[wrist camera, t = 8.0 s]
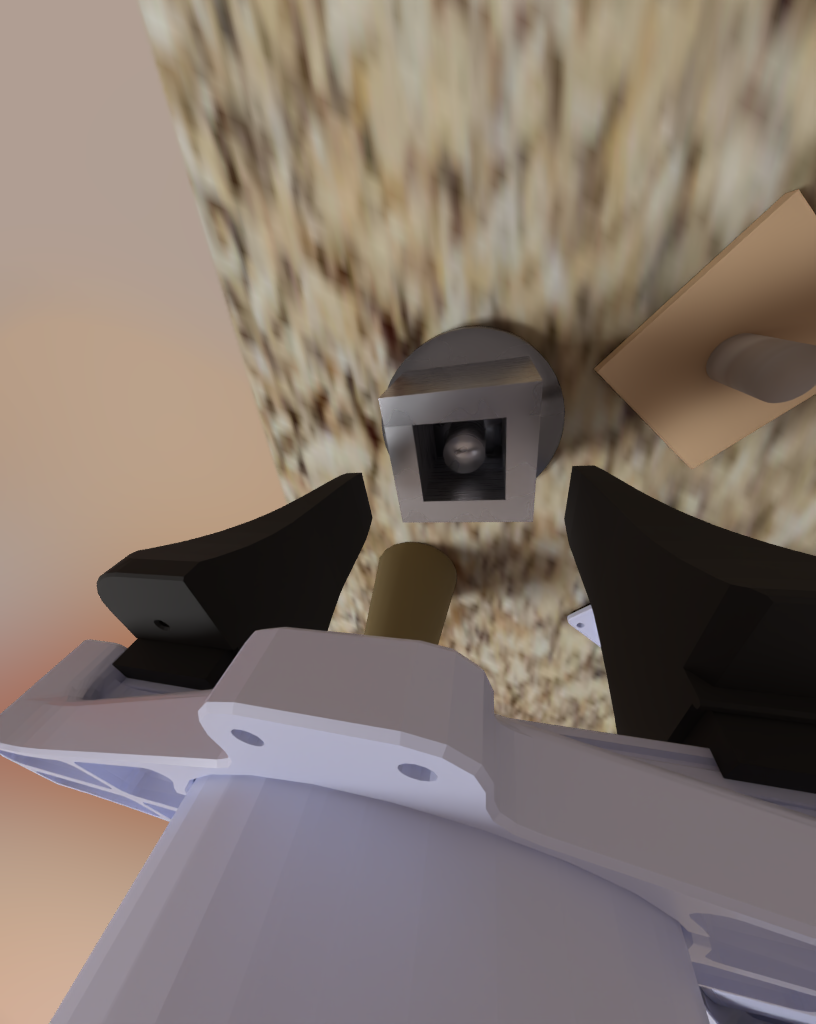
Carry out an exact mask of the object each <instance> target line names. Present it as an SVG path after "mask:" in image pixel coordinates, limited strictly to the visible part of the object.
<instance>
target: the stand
mask: <svg viewBox="0 0 816 1024" xmlns="http://www.w3.org/2000/svg"><path fill="white" fill-rule="evenodd" d="M594 370H595V371H596V372H597V373H598V374H599V375H600V376H601V377H602V378H603V379H604V380H605V381H606V382H607V383H608V384H609V385H610V386H611V387H612V389H613V390H614V391H615V392H616V393H617V394H618V395H619V396H620V397H621V398H622V399H623V400H624V401H625V402H626V403H627V404H628V405H629V406H630V407H631V408H632V409H633V410H634V411H635V412H636V413H637V414H638V415H639V416H640V417H641V418H642V419H643V420H644V421H645V422H646V423H647V424H648V425H649V427H650V428H651V429H652V430H653V431H654V432H655V433H656V434H657V435H658V436H659V437H660V438H661V439H662V440H663V441H664V442H665V443H666V444H667V445H668V446H669V447H670V448H671V449H672V450H673V451H674V452H675V453H676V454H677V455H678V456H679V457H680V458H681V459H682V460H683V461H684V462H685V463H686V464H687V465H688V466H689V467H690V468H691V469H693V468H695V467H697V466H698V465H700V464H701V463H703V462H705V461H706V460H708V459H710V458H711V457H713V456H715V455H716V454H718V453H720V452H721V451H723V450H724V449H726V448H728V447H729V446H731V445H733V444H734V443H736V442H738V441H739V440H741V439H742V438H744V437H746V436H747V435H749V434H751V433H752V432H754V431H756V430H757V429H759V428H760V427H762V426H764V425H765V424H767V423H769V422H770V421H772V420H774V419H775V418H777V417H778V416H780V415H782V414H783V413H785V412H787V411H788V410H790V409H792V408H793V407H795V406H796V405H798V404H800V403H801V402H803V401H805V400H806V399H808V398H810V397H811V396H813V395H815V394H816V215H815V213H814V212H813V210H812V209H811V207H810V206H809V204H808V203H807V201H806V200H805V198H804V196H803V195H802V193H801V192H800V190H799V189H798V190H795V191H792V192H789V193H785V194H784V195H783V196H782V197H781V198H780V199H778V200H777V201H776V202H775V203H774V204H773V205H772V206H771V207H770V208H769V209H768V210H766V211H765V212H764V213H763V214H762V215H761V216H760V217H759V218H758V219H757V220H756V221H754V222H753V223H752V224H751V225H750V226H749V227H748V228H747V229H746V230H745V231H744V232H742V233H741V234H740V235H739V236H738V237H737V238H736V239H735V240H734V241H733V242H732V243H730V244H729V245H728V246H727V247H726V248H725V249H724V250H723V251H722V252H721V253H720V254H718V255H717V256H716V257H715V258H714V259H713V260H712V261H711V262H710V263H709V264H708V265H706V266H705V267H704V268H703V269H702V270H701V271H700V272H699V273H698V274H697V275H696V276H694V277H693V278H692V279H691V280H690V281H689V282H688V283H687V284H686V285H685V286H684V287H682V288H681V289H680V290H679V291H678V292H677V293H676V294H675V295H674V296H673V297H671V298H670V299H669V300H668V301H667V302H666V303H665V304H664V305H663V306H662V307H661V308H659V309H658V310H657V311H656V312H655V313H654V314H653V315H652V316H651V317H650V318H649V319H647V320H646V321H645V322H644V323H643V324H642V325H641V326H640V327H639V328H638V329H637V330H635V331H634V332H633V333H632V334H631V335H630V336H629V337H628V338H627V339H626V340H625V341H623V342H622V343H621V344H620V345H619V346H618V347H617V348H616V349H615V350H614V351H613V352H611V353H610V354H609V355H608V356H607V357H606V358H605V359H604V360H603V361H602V362H601V363H599V364H598V365H597V366H596V367H595V368H594Z"/></svg>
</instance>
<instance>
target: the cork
mask: <svg viewBox="0 0 816 1024" xmlns="http://www.w3.org/2000/svg"><path fill="white" fill-rule="evenodd" d="M456 581H457V572H456V569H455V567H454V565H453V563H452V561H451V560H450V559H449V558H448V557H447V556H446V555H445V554H444V553H443V552H441V551H439V550H438V549H436V548H434V547H432V546H429V545H425V544H422V543H414V542H405V543H400V544H396V545H393V546H392V547H390V548H388V549H387V550H385V552H384V553H383V554H382V556H381V557H380V560H379V565H378V570H377V574H376V579H375V584H374V589H373V594H372V599H371V603H370V608H369V613H368V618H367V623H366V628H365V633H364V635H370V636H380V637H390V638H400V639H410V640H420V641H424V642H428V643H432V644H436V645H438V643H439V639H440V636H441V633H442V629H443V626H444V622H445V619H446V615H447V612H448V609H449V605H450V602H451V598H452V595H453V591H454V588H455V585H456Z"/></svg>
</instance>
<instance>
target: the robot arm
mask: <svg viewBox="0 0 816 1024" xmlns="http://www.w3.org/2000/svg"><path fill="white" fill-rule="evenodd" d="M564 519H565V525H566V531H567V536H568V541H569V545H570V548H571V551H572V554H573V556H574V559H575V562H576V565H577V568H578V570H579V573H580V576H581V578H582V581H583V584H584V587H585V589H586V592H587V595H588V598H589V601H590V604H591V605H589V606H587V607H584V608H582V609H580V610H578V611H576V612H574V613H572V614H570V615H568V617H567V619H568V623H569V624H570V625H572V626H573V627H574V628H576V629H577V630H578V631H580V632H581V633H582V634H584V635H585V636H586V637H588V638H589V639H590V640H592V641H593V642H594V643H596V644H597V645H598V646H600V647H601V649H602V654H603V659H604V664H605V668H606V673H607V678H608V684H609V689H610V694H611V700H612V705H613V710H614V716H615V722H616V729H617V734H611V733H604V732H598V731H591V730H585V729H578V728H571V727H565V726H558V725H551V724H545V723H538V722H532V721H525V720H518V719H512V718H507V717H504V716H501V715H498V714H495V713H494V691H493V689H492V687H491V685H490V682H489V680H488V678H487V676H486V674H485V672H484V670H483V669H481V668H480V667H479V666H478V665H477V664H475V663H474V662H472V661H471V660H469V659H468V658H466V657H465V656H463V655H461V654H460V653H458V652H457V651H455V650H454V649H451V648H447V647H443V646H440V645H436V644H432V643H428V642H424V641H420V640H410V639H400V638H390V637H380V636H370V635H361V634H351V633H341V632H331V631H328V628H329V624H330V621H331V618H332V615H333V612H334V610H335V607H336V604H337V601H338V598H339V595H340V593H341V591H342V588H343V586H344V584H345V582H346V580H347V578H348V576H349V574H350V572H351V570H352V568H353V565H354V563H355V561H356V559H357V557H358V555H359V553H360V551H361V549H362V547H363V545H364V543H365V540H366V538H367V535H368V532H369V529H370V525H371V521H372V514H371V510H370V505H369V501H368V497H367V493H366V489H365V485H364V481H363V476H362V473H346V474H343V475H341V476H339V477H337V478H335V479H333V480H331V481H329V482H327V483H326V484H324V485H322V486H320V487H319V488H317V489H315V490H313V491H312V492H310V493H308V494H306V495H304V496H303V497H301V498H299V499H297V500H295V501H293V502H291V503H289V504H287V505H285V506H283V507H282V508H279V509H277V510H275V511H273V512H271V513H269V514H266V515H264V516H262V517H259V518H257V519H254V520H252V521H249V522H246V523H244V524H241V525H238V526H235V527H232V528H229V529H226V530H223V531H220V532H217V533H214V534H210V535H207V536H203V537H199V538H195V539H191V540H188V541H183V542H179V543H174V544H170V545H165V546H160V547H156V548H150V549H145V550H139V551H136V552H134V553H132V554H129V555H128V556H127V557H125V558H124V559H123V560H121V561H120V562H119V563H117V564H116V565H115V566H113V567H112V568H111V569H109V570H108V571H106V572H105V573H104V574H102V575H101V576H100V577H99V579H98V581H97V590H98V594H99V596H100V598H101V600H102V601H103V603H104V604H105V605H106V606H107V607H108V608H109V610H110V611H111V612H112V613H113V614H114V615H115V616H116V617H117V618H118V619H119V620H120V621H121V622H122V623H123V624H124V625H125V626H126V627H127V628H128V630H129V631H130V632H131V633H132V634H133V635H134V636H135V637H136V638H138V639H137V640H136V641H135V642H134V643H133V644H132V645H131V646H130V647H129V648H126V647H124V646H122V645H120V644H117V643H112V642H105V641H97V640H85V641H83V642H82V643H81V644H80V645H79V646H78V647H77V648H76V649H74V650H73V651H72V652H71V653H70V654H69V655H67V656H66V657H65V658H64V659H63V660H62V661H61V662H59V663H58V664H57V665H56V666H55V667H54V668H52V669H51V670H50V671H49V672H48V673H47V674H46V675H45V676H44V677H42V678H41V679H40V680H39V681H38V682H36V683H35V684H34V685H33V686H32V687H31V688H30V689H28V690H27V691H26V692H25V693H24V694H23V695H22V696H20V697H19V698H18V699H17V700H16V701H15V702H13V703H12V704H11V705H10V706H9V707H8V708H7V709H6V710H4V711H3V712H2V713H1V714H0V755H1V756H3V757H5V758H7V759H9V760H11V761H13V762H15V763H17V764H19V765H21V766H23V767H25V768H27V769H28V770H30V771H33V772H34V773H36V774H38V775H40V776H42V777H44V778H46V779H48V780H50V781H52V782H54V783H56V784H59V785H62V786H65V787H69V788H72V789H75V790H78V791H81V792H85V793H88V794H91V795H94V796H97V797H100V798H103V799H106V800H109V801H112V802H115V803H118V804H121V805H124V806H127V807H130V808H132V809H135V810H138V811H141V812H144V813H147V814H149V815H152V816H155V817H158V818H161V819H163V820H167V821H169V822H170V823H169V824H168V826H167V828H166V829H165V831H164V833H163V834H162V836H161V838H160V839H159V841H158V843H157V844H156V846H155V848H154V849H153V851H152V853H151V854H150V856H149V858H148V859H147V861H146V863H145V864H144V866H143V868H142V869H141V871H140V873H139V874H138V876H137V878H136V879H135V881H134V883H133V884H132V886H131V888H130V889H129V891H128V893H127V895H126V896H125V898H124V899H123V901H122V903H121V904H120V906H119V908H118V909H117V911H116V913H115V914H114V916H113V918H112V919H111V921H110V923H109V924H108V926H107V928H106V929H105V931H104V933H103V934H102V936H101V938H100V939H99V941H98V943H97V944H96V946H95V948H94V950H93V951H92V953H91V955H90V956H89V958H88V960H87V961H86V963H85V965H84V966H83V968H82V969H81V971H80V973H79V974H78V976H77V978H76V979H75V981H74V983H73V985H72V986H71V988H70V990H69V991H68V993H67V995H66V996H65V998H64V1000H63V1001H62V1003H61V1005H60V1006H59V1008H58V1010H57V1011H56V1013H55V1015H54V1017H53V1018H52V1020H51V1021H50V1023H49V1024H816V556H813V555H810V554H806V553H802V552H798V551H794V550H790V549H787V548H783V547H780V546H776V545H773V544H769V543H766V542H763V541H760V540H757V539H753V538H750V537H747V536H744V535H741V534H738V533H735V532H732V531H729V530H726V529H723V528H721V527H718V526H715V525H712V524H710V523H707V522H705V521H702V520H700V519H698V518H695V517H693V516H690V515H688V514H685V513H683V512H681V511H679V510H676V509H674V508H672V507H670V506H668V505H666V504H664V503H662V502H660V501H658V500H656V499H654V498H652V497H650V496H648V495H646V494H644V493H642V492H641V491H639V490H637V489H635V488H634V487H632V486H630V485H628V484H627V483H625V482H623V481H621V480H620V479H618V478H616V477H615V476H613V475H611V474H609V473H608V472H606V471H604V470H602V469H600V468H598V467H596V466H572V473H571V479H570V486H569V492H568V499H567V505H566V512H565V518H564Z"/></svg>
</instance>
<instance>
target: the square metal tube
mask: <svg viewBox="0 0 816 1024" xmlns="http://www.w3.org/2000/svg"><path fill="white" fill-rule="evenodd" d="M542 388H543V380H542V378H541V376H540V375H539V373H538V371H537V369H536V368H535V366H534V364H533V362H532V361H531V359H530V357H529V356H525V357H517V358H509V359H501V360H493V361H485V362H477V363H469V364H462V365H454V366H446V367H438V368H430V369H422V370H414V371H406V372H403V373H402V374H401V376H400V377H399V378H398V379H397V380H396V381H395V382H394V383H393V384H392V385H391V386H390V387H389V388H388V389H387V390H386V391H385V392H384V393H383V394H382V395H381V396H380V397H379V398H378V399H379V404H380V409H381V414H382V419H383V424H384V429H385V434H386V439H387V444H388V449H389V454H390V459H391V464H392V469H393V475H394V480H395V485H396V490H397V495H398V500H399V505H400V510H401V515H402V520H403V522H533V512H534V498H535V484H536V471H537V457H538V443H539V429H540V415H541V402H542ZM493 418H502V453H501V454H485V459H484V462H483V464H482V465H481V466H480V467H479V468H478V469H477V470H475V471H473V472H471V473H457V472H455V471H453V470H451V469H450V468H449V467H448V466H447V465H446V463H445V461H444V458H443V457H437V455H436V446H435V437H434V428H433V423H445V422H457V421H469V420H481V419H493Z"/></svg>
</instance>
